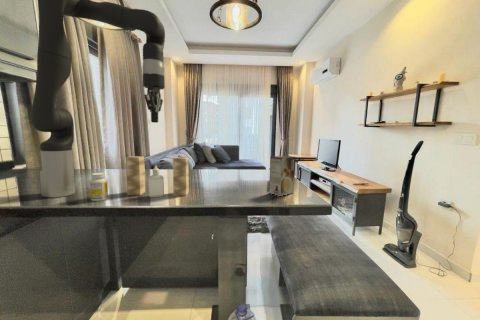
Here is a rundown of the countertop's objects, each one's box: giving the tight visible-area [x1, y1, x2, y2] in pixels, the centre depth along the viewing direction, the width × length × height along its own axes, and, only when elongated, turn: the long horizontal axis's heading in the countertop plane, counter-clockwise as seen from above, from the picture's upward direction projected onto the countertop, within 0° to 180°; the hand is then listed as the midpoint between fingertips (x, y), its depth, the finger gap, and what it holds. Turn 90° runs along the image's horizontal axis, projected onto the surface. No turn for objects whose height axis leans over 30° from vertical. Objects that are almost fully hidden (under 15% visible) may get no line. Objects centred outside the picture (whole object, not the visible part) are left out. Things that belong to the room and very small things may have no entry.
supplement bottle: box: [89, 172, 109, 202], centre depth 81 cm, size 5×5×10 cm
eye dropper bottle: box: [147, 165, 165, 198], centre depth 86 cm, size 4×6×12 cm
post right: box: [172, 156, 190, 197], centre depth 89 cm, size 5×5×15 cm
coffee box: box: [268, 155, 296, 197], centre depth 93 cm, size 9×6×16 cm
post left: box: [125, 155, 146, 196], centre depth 88 cm, size 5×5×15 cm
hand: (154, 122), depth 83 cm, fingers closed
